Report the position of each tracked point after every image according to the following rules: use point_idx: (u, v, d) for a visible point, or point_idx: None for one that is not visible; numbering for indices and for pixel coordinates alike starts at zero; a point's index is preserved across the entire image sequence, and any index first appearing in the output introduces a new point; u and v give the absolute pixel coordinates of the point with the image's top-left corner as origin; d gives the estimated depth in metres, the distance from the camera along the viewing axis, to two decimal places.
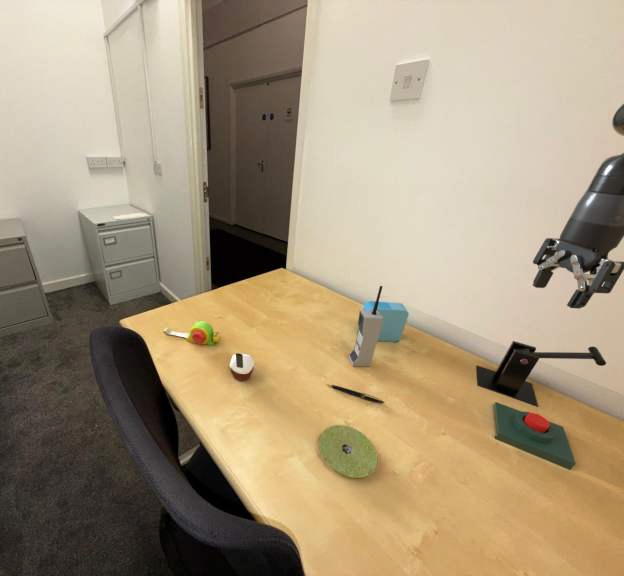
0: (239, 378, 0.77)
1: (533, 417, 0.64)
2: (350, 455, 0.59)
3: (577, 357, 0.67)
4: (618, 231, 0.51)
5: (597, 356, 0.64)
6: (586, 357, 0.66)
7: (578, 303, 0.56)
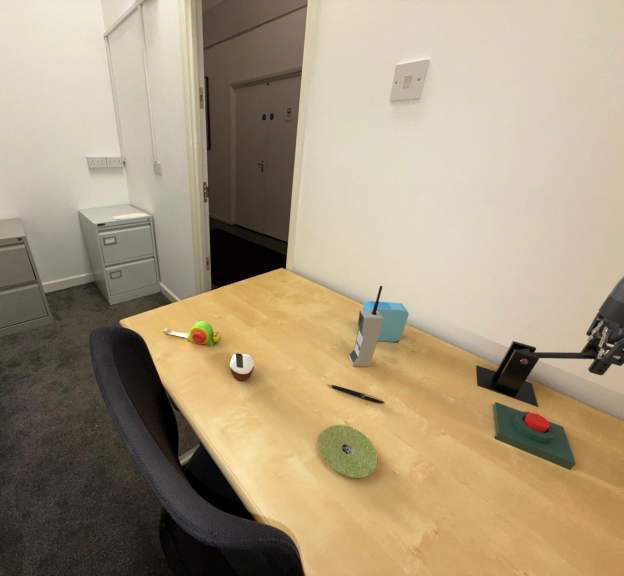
0: (239, 378, 0.77)
1: (533, 417, 0.64)
2: (350, 455, 0.59)
3: (577, 357, 0.67)
4: None
5: (597, 356, 0.64)
6: (586, 357, 0.66)
7: (595, 369, 0.63)
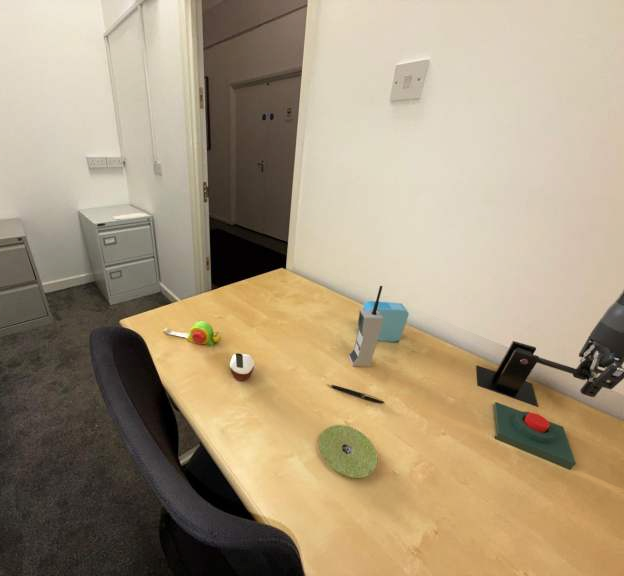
0: (239, 378, 0.77)
1: (533, 417, 0.64)
2: (350, 455, 0.59)
3: (572, 372, 0.68)
4: None
5: None
6: (580, 374, 0.68)
7: (587, 391, 0.65)
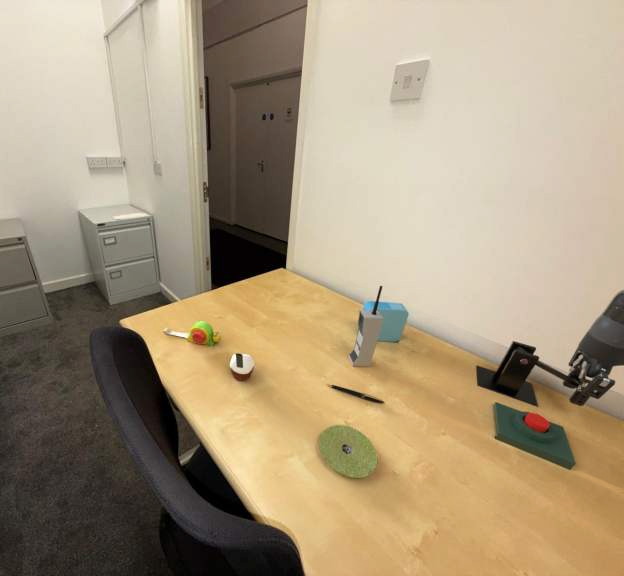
0: (239, 378, 0.77)
1: (533, 417, 0.64)
2: (350, 455, 0.59)
3: (564, 379, 0.70)
4: (618, 352, 0.60)
5: None
6: (571, 382, 0.69)
7: (575, 400, 0.67)
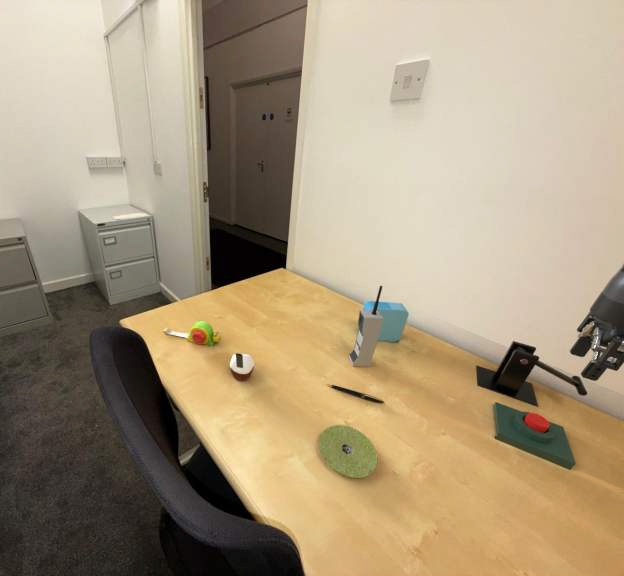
0: (239, 378, 0.77)
1: (533, 417, 0.64)
2: (350, 455, 0.59)
3: (564, 379, 0.70)
4: None
5: (582, 386, 0.68)
6: (571, 382, 0.69)
7: (588, 374, 0.57)
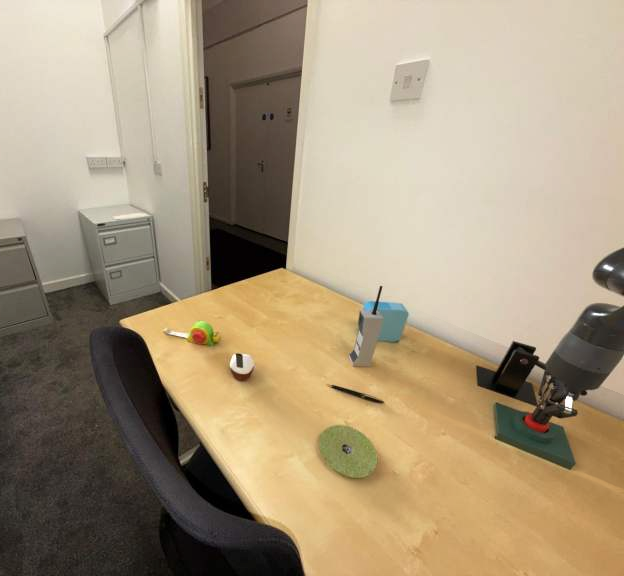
0: (239, 378, 0.77)
1: None
2: (350, 455, 0.59)
3: None
4: (586, 375, 0.53)
5: None
6: None
7: (538, 419, 0.62)
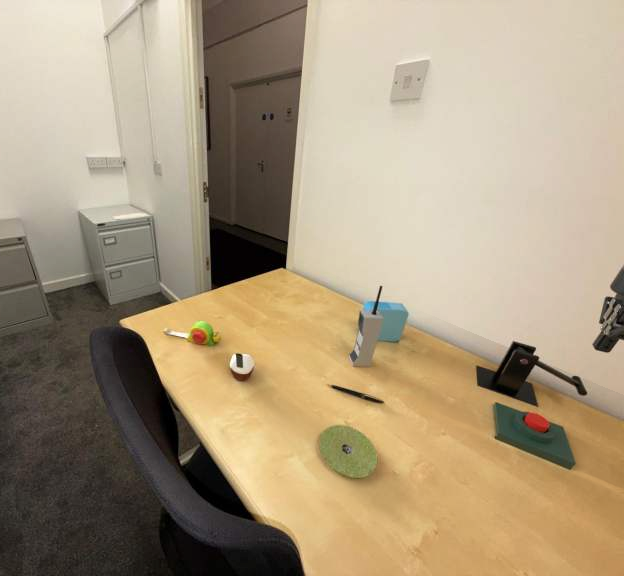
0: (239, 378, 0.77)
1: (533, 417, 0.64)
2: (350, 455, 0.59)
3: (564, 379, 0.70)
4: None
5: (582, 386, 0.68)
6: (571, 382, 0.69)
7: (601, 346, 0.59)
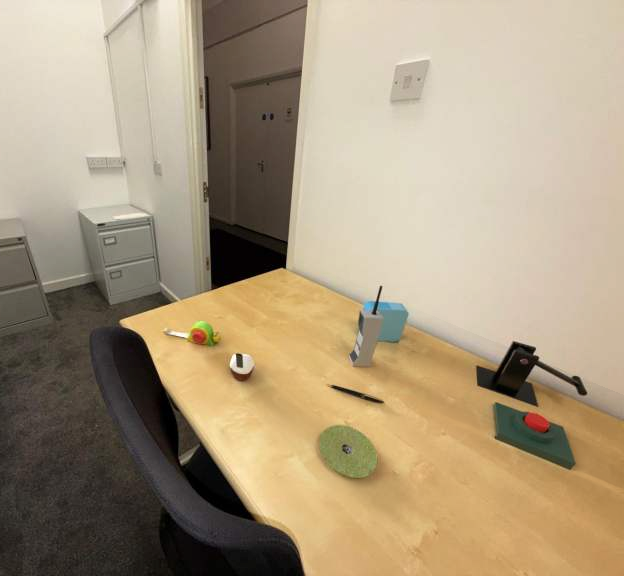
0: (239, 378, 0.77)
1: (533, 417, 0.64)
2: (350, 455, 0.59)
3: (564, 379, 0.70)
4: None
5: (582, 386, 0.68)
6: (571, 382, 0.69)
7: None
